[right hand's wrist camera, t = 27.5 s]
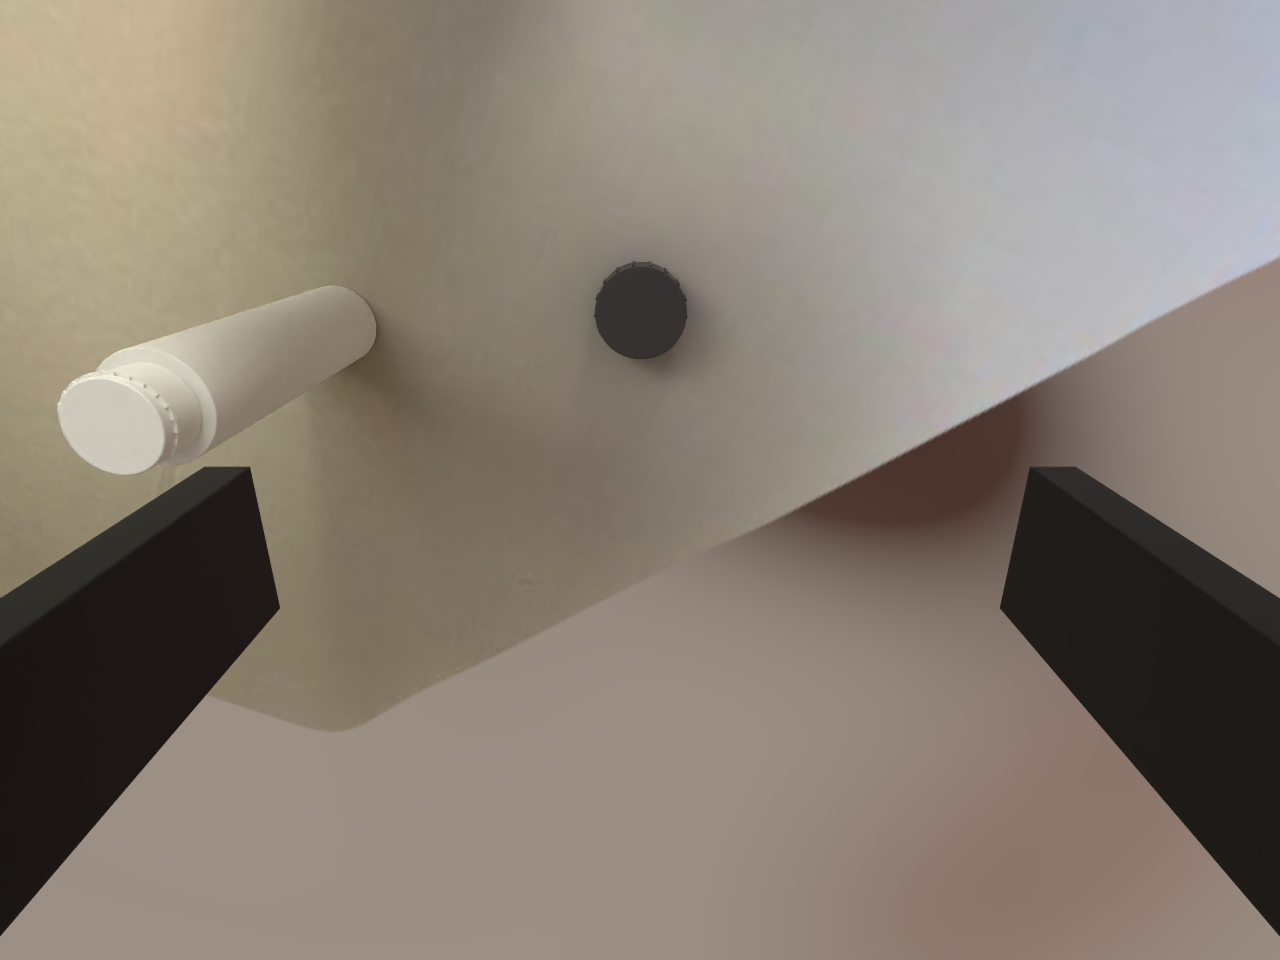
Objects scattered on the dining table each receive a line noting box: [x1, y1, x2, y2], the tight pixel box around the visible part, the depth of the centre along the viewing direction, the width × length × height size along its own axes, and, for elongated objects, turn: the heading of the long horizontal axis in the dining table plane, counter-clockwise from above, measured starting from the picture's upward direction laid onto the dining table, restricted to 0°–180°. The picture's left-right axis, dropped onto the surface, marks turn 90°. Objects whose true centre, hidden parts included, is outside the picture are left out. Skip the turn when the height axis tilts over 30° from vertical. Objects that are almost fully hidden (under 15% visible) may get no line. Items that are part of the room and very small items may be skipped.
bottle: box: [58, 285, 376, 475], centre depth 31 cm, size 4×4×18 cm
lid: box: [594, 261, 687, 359], centre depth 38 cm, size 5×5×2 cm
